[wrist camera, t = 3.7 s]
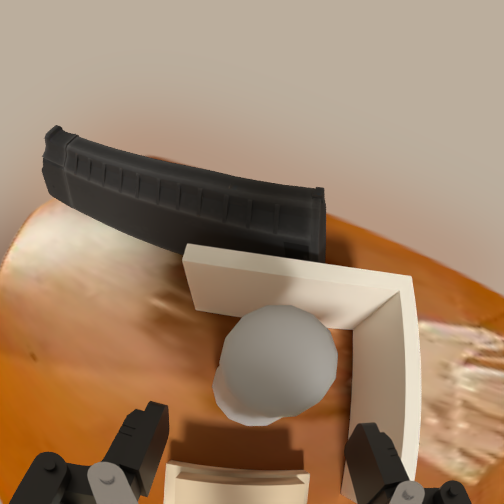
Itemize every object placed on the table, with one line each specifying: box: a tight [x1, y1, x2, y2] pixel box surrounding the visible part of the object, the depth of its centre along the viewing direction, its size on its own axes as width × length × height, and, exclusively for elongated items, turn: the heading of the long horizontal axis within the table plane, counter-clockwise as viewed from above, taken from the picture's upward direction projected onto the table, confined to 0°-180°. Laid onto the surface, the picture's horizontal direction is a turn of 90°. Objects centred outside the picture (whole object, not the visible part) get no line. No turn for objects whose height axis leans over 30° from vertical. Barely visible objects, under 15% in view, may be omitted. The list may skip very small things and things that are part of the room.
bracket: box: [182, 244, 421, 504], centre depth 16 cm, size 15×16×8 cm
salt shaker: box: [212, 305, 338, 426], centre depth 14 cm, size 6×6×13 cm
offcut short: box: [175, 471, 305, 504], centre depth 12 cm, size 8×4×2 cm, turn 87°
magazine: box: [42, 125, 326, 264], centre depth 22 cm, size 17×3×30 cm
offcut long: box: [164, 460, 310, 504], centre depth 14 cm, size 10×4×2 cm, turn 86°
